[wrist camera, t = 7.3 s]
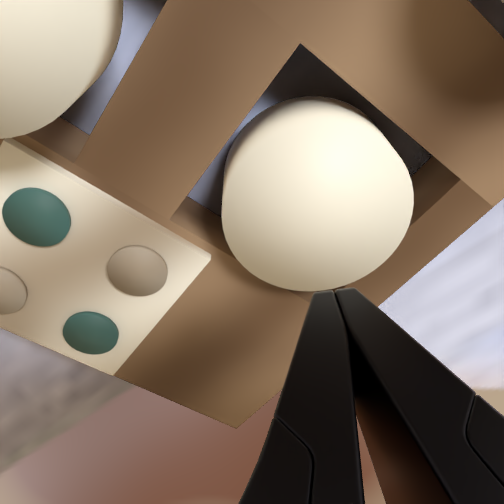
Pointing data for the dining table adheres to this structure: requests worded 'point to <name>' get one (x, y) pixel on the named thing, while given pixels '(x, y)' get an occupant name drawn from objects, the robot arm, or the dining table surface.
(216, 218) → the board
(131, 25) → the dining table surface
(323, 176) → the button
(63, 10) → the button
